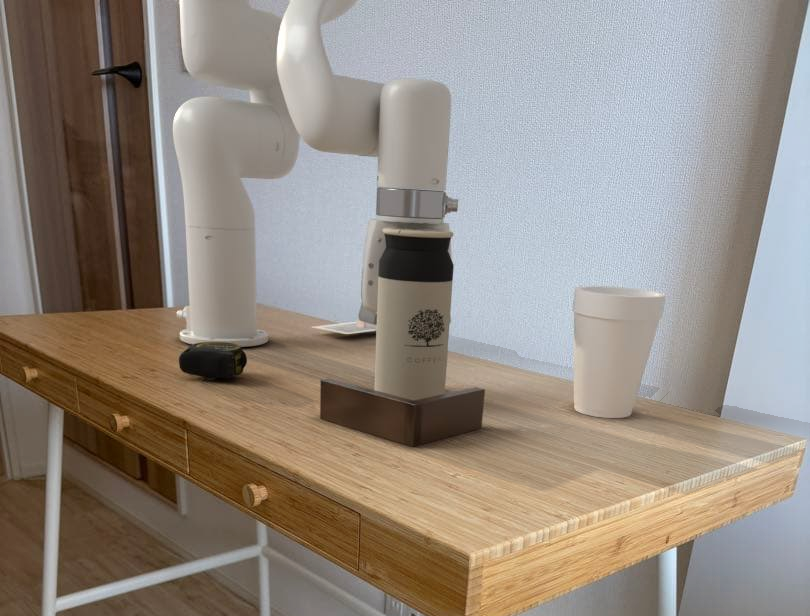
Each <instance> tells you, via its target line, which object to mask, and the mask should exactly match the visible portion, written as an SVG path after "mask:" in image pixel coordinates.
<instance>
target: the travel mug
mask: <svg viewBox="0 0 810 616" xmlns="http://www.w3.org/2000/svg"><path fill="white" fill-rule="evenodd" d="M382 232H383V233H384V235H385V242H386V249H385V251H384V253H383V254H382V256H381V258H380V260H379V274H378V302H377V329H376V331H375V332H376V333H375V334H376V335H375V361H374V385H373V386H374V387H373V388H374V389H373V390H376V391H379V392H383V393H387V394H391V395H395V396H399V397H402V398H406V399H410V400H418V399H423V398H428V397H432V396H437V395H442V394H446V382H447V369H448V368H447V367H448V355H449V354H448V352H449V339H450V325H451V323H450V316H451V311H452V297H453V283H454V282H453V281H454V270H455V269H454V267H455V264H454V262H453V259H452V260H451V257H450V255H449V252H448V249H449V244H450V240H451V241H452V238H453V237H454V235H455V234H454V232H453V231H451V230H450V231H445V230H434V229H416V228H384V229H383V230H382Z"/></svg>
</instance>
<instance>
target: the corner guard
mask: <svg viewBox="0 0 810 616" xmlns="http://www.w3.org/2000/svg"><path fill="white" fill-rule="evenodd" d="M485 391H486V389H485V388H482V387H477V386H475V387H471V388H470V387H469V388H466V389H462V390H457V391H452V392H446V393H445V394H442V395H437V396H432V397H428V398H423V399H418V400H410V399H406V398H402V397H399V396H395V395H391V394H387V393H383V392H379V391H376V390H374V389H372V388H367V387H363V386H361V385H356V384H352V383H349V382H344V381H341V380H337V379H333V378H330V377H328V378H322V379H320V396H319V397H320V399H319V400H320V405H319V406H320V407H319V419H320V420H324V421H327V422H330V423H333V424H337V425H340V426H342V427H346V428H350V429H353V430H355V431H356V430H357V431H360V432H363V433H366V434H369V435H373V436H374V437H375V436H376V437H379V438H382V439H386V440H389V441H392V442H395V443H399V444H402V445H405V446H409V447H411V448H413V447H417V446H421V445H424V444H428V443H432V442H437V441H439V440H443V439H446V438H451V437H454V436H458V435H461V434H465V433H469V432H473V431H477V430H480V429H482V428H483V427H482V426H483V418H484V417H483V415H484V407H485V406H484V405H485V393H486V392H485Z"/></svg>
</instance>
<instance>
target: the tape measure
mask: <svg viewBox="0 0 810 616" xmlns="http://www.w3.org/2000/svg"><path fill="white" fill-rule="evenodd" d="M247 363H248V357H247V353H246V351H245V350H243V347H241V346H240V345H238V344H234V343H228V342H201V343H196V344H193V345H192V344H189V346H188V347H187V348H186V349H185V350H184V351H182V352H181V353H180V354H179V356H178V366H179V369H180V371H182V373H184V374H188V375H192V376H197V377H203V378H204V379H206V380H208V381H213V380H216V379H235V377H237V376H240V375H241V374H243V372H244V369H245V367H246V365H247Z"/></svg>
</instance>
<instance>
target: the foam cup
mask: <svg viewBox="0 0 810 616" xmlns="http://www.w3.org/2000/svg"><path fill="white" fill-rule="evenodd" d="M666 297H667V295H666V294H665V293H663V292H659V291H655V290H649V289H641V288H634V287H633V288H632V287H620V286H607V285H606V286H604V285H603V286H602V285H585V286H583V285H582V286H577V287H574V293H573V302H572V309H571V310H572V312H573V403H574V406H573V407H574V408H573V409H574V410H575V411H576V412H578V413H580V414H583V415H585V416H590V417H595V418H604V419H622V418H628V417H630V416H631V415H632V412H633V409H634V407H635V404H636V400H637V397H638V395H639V390H640V386H641V383H642V380H643V377H644V374H645V370H646V367H647V364H648V360H649V357H650V353H651V350H652V347H653V344H654V341H655V337H656V334H657V331H658V327H659V324H660V320H661V319H663V315H664V311H665V303H666Z"/></svg>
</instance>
